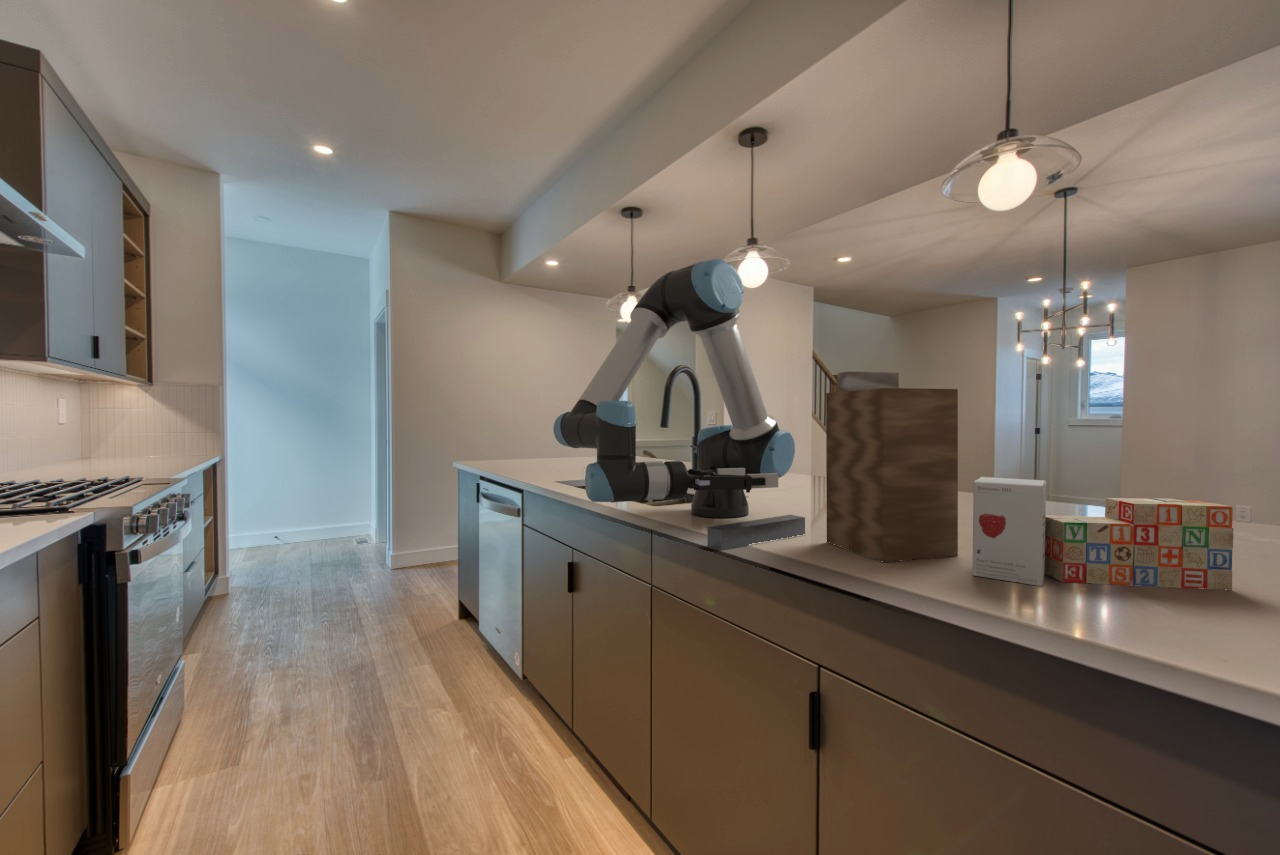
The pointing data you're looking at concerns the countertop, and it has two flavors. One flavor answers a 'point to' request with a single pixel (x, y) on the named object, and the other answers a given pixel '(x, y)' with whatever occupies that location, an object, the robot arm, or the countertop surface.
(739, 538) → the gray block
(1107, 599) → the countertop surface
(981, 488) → the supplement box
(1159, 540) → the stack of blocks
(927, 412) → the brown wooden tall block
